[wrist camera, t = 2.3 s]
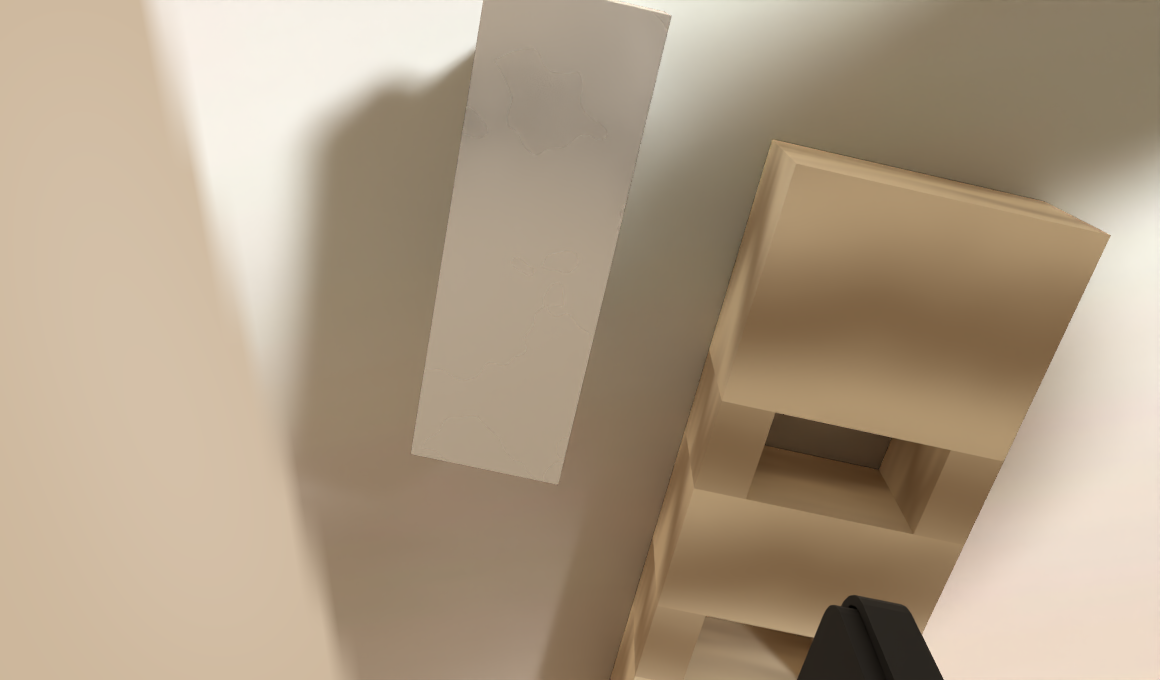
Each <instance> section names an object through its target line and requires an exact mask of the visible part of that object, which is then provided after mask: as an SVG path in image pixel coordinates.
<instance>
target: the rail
mask: <svg viewBox="0 0 1160 680" xmlns="http://www.w3.org/2000/svg"><path fill="white" fill-rule="evenodd" d="M1110 236H1111V235H1109V234H1107V233H1105V232H1103V231H1101V230H1099V229H1097V228H1096V227H1094V226H1092V225H1090V224H1088V223H1086V222H1084V221H1082V220H1080V219H1078V218H1076V217H1074V216H1072V215H1070V214H1068V213H1066V212H1064V211H1062V210H1060V209H1058V208H1056V207H1054V206H1052V205H1050V204H1048V203H1047V202H1045V201H1040V200H1036V199H1031V198H1027V197H1023V196H1018V195H1014V194H1010V193H1005V192H1001V191H997V190H992V189H988V188H983V187H979V186H975V185H970V184H966V183H962V182H957V181H953V180H948V179H944V178H940V177H935V176H931V175H927V174H922V173H918V172H914V171H909V170H905V169H900V168H896V167H892V166H887V165H883V164H879V163H874V162H870V161H865V160H861V159H857V158H852V157H848V156H844V155H839V154H835V153H831V152H826V151H822V150H817V149H813V148H809V147H804V146H800V145H796V144H791V143H787V142H782V141H778V140H774V139H772V142H771V145H770V148H769V152H768V155H767V158H766V161H765V165H764V168H763V171H762V175H761V178H760V181H759V185H758V188H757V191H756V195H755V198H754V201H753V205H752V208H751V211H750V215H749V218H748V221H747V225H746V228H745V231H744V235H743V238H742V241H741V245H740V248H739V251H738V255H737V258H736V261H735V265H734V268H733V271H732V275H731V278H730V281H729V285H728V288H727V291H726V295H725V298H724V301H723V305H722V308H721V311H720V315H719V318H718V321H717V325H716V328H715V331H714V335H713V338H712V341H711V345H710V348H709V351H708V355H707V358H706V361H705V365H704V368H703V371H702V375H701V378H700V381H699V385H698V388H697V391H696V395H695V398H694V401H693V405H692V408H691V411H690V415H689V418H688V421H687V425H686V428H685V431H684V435H683V438H682V441H681V445H680V448H679V451H678V455H677V458H676V461H675V464H674V468H673V471H672V474H671V478H670V481H669V484H668V488H667V491H666V494H665V498H664V501H663V504H662V508H661V511H660V514H659V518H658V521H657V524H656V528H655V531H654V534H653V538H652V541H651V544H650V548H649V551H648V554H647V558H646V561H645V564H644V568H643V571H642V574H641V578H640V581H639V584H638V588H637V591H636V594H635V598H634V601H633V604H632V608H631V611H630V614H629V618H628V621H627V624H626V628H625V631H624V634H623V638H622V641H621V644H620V648H619V651H618V654H617V658H616V661H615V664H614V668H613V671H612V674H611V678H610V680H797V678H798V676H799V673H800V671H801V668H802V666H803V663H804V661H805V658H806V656H807V654H808V651H809V649H810V646H811V644H812V641H813V639H814V636H815V634H816V631H817V629H818V626H819V624H820V622H821V619H822V617H823V614H824V612H825V611H826V609H827V608H828V607H829V606H830V605H837V606H841V605H842V603H843V601H844V600H845V599H846V598H847V597H848V596H851V595H858V596H863V597H868V598H873V599H878V600H883V601H888V602H893V603H898V604H902V605H904V606H906V607H907V608H908V610H909V611H910V612H911V614H912V616H913V618H914V620H915V622H916V624H917V626H918V628H919V630H920V632H921V634H922V633H923V631H924V629H925V627H926V624H927V622H928V620H929V618H930V616H931V614H932V612H933V610H934V608H935V605H936V603H937V601H938V599H939V597H940V595H941V593H942V591H943V589H944V586H945V584H946V582H947V580H948V578H949V576H950V574H951V572H952V570H953V567H954V565H955V563H956V561H957V559H958V557H959V555H960V553H961V551H962V548H963V546H964V544H965V542H966V540H967V538H968V536H969V534H970V531H971V529H972V527H973V525H974V523H975V521H976V519H977V517H978V515H979V512H980V510H981V508H982V506H983V504H984V502H985V500H986V498H987V496H988V493H989V491H990V489H991V487H992V485H993V483H994V481H995V479H996V477H997V474H998V472H999V470H1000V468H1001V466H1002V464H1003V462H1004V460H1005V458H1006V455H1007V453H1008V451H1009V449H1010V447H1011V445H1012V443H1013V441H1014V439H1015V436H1016V434H1017V432H1018V430H1019V428H1020V426H1021V424H1022V422H1023V420H1024V417H1025V415H1026V413H1027V411H1028V409H1029V407H1030V405H1031V403H1032V401H1033V398H1034V396H1035V394H1036V392H1037V390H1038V388H1039V386H1040V384H1041V381H1042V379H1043V377H1044V375H1045V373H1046V371H1047V369H1048V367H1049V365H1050V362H1051V360H1052V358H1053V356H1054V354H1055V352H1056V350H1057V348H1058V346H1059V343H1060V341H1061V339H1062V337H1063V335H1064V333H1065V331H1066V329H1067V327H1068V324H1069V322H1070V320H1071V318H1072V316H1073V314H1074V312H1075V310H1076V308H1077V305H1078V303H1079V301H1080V299H1081V297H1082V295H1083V293H1084V291H1085V289H1086V286H1087V284H1088V282H1089V280H1090V278H1091V276H1092V274H1093V272H1094V270H1095V267H1096V265H1097V263H1098V261H1099V259H1100V257H1101V255H1102V253H1103V251H1104V248H1105V246H1106V244H1107V242H1108V240H1109V238H1110ZM775 413H780V414H785V415H789V416H794V417H799V418H803V419H808V420H813V421H817V422H822V423H827V424H831V425H836V426H841V427H845V428H850V429H855V430H859V431H864V432H869V433H873V434H878V435H883V436H887V437H892V439H891V442H890V444H889V447H888V449H887V452H886V454H885V457H884V459H883V461H882V464H881V466H880V469H879V470H878V469H873V468H868V467H864V466H859V465H854V464H849V463H845V462H840V461H835V460H831V459H826V458H821V457H817V456H812V455H807V454H803V453H798V452H793V451H788V450H784V449H779V448H774V447H770V446H765V442H766V439H767V436H768V433H769V430H770V427H771V424H772V421H773V419H774V416H775ZM707 616H710V617H707ZM712 617H715V618H712ZM717 618H720V619H717ZM722 619H724V620H722ZM727 620H729V621H727ZM732 621H734V622H732ZM737 622H739V623H737ZM742 623H744V624H742ZM747 624H749V625H747ZM752 625H754V626H752ZM756 626H759V627H756ZM761 627H764V628H761ZM766 628H769V629H766ZM771 629H774V630H771ZM776 630H778V631H776ZM781 631H783V632H781ZM786 632H788V633H786ZM791 633H793V634H791ZM796 634H798V635H796ZM801 635H803V636H801ZM806 636H808V637H806Z"/></svg>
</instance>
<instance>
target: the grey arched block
mask: <svg viewBox="0 0 1160 680" xmlns="http://www.w3.org/2000/svg"><path fill="white" fill-rule="evenodd" d="M670 20H671V15H669V14H668V13H666V12H664V11H660V10H655V9H651V8H647V7H643V6H638V5H634V4H630V3H626V2H621V1H617V0H483V6H482V12H481V18H480V24H479V31H478V37H477V43H476V49H475V56H474V62H473V68H472V74H471V81H470V87H469V93H468V99H467V106H466V112H465V118H464V124H463V131H462V137H461V143H460V149H459V156H458V162H457V168H456V174H455V181H454V187H453V193H452V199H451V206H450V212H449V218H448V224H447V231H446V237H445V243H444V249H443V255H442V262H441V268H440V274H439V280H438V287H437V293H436V299H435V305H434V312H433V318H432V324H431V330H430V337H429V343H428V349H427V355H426V362H425V368H424V374H423V380H422V387H421V393H420V399H419V405H418V412H417V418H416V424H415V430H414V437H413V443H412V449H411V454H413V455H417V456H422V457H427V458H432V459H437V460H441V461H446V462H451V463H456V464H461V465H465V466H470V467H475V468H480V469H484V470H489V471H494V472H499V473H504V474H508V475H513V476H518V477H523V478H528V479H532V480H537V481H542V482H547V483H551V484H556V485H558V484H559V480H560V475H561V471H562V467H563V463H564V459H565V455H566V451H567V446H568V442H569V438H570V434H571V430H572V426H573V422H574V417H575V413H576V409H577V405H578V401H579V397H580V393H581V389H582V384H583V380H584V376H585V372H586V368H587V364H588V360H589V355H590V351H591V347H592V343H593V339H594V335H595V331H596V326H597V322H598V318H599V314H600V310H601V306H602V302H603V297H604V293H605V289H606V285H607V281H608V277H609V273H610V268H611V264H612V260H613V256H614V252H615V248H616V244H617V239H618V235H619V231H620V227H621V223H622V219H623V215H624V210H625V206H626V202H627V198H628V194H629V190H630V186H631V182H632V177H633V173H634V169H635V165H636V161H637V157H638V153H639V148H640V144H641V140H642V136H643V132H644V128H645V124H646V119H647V115H648V111H649V107H650V103H651V99H652V95H653V90H654V86H655V82H656V78H657V74H658V70H659V66H660V61H661V57H662V53H663V49H664V45H665V41H666V37H667V32H668V28H669V24H670Z"/></svg>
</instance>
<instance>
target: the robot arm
mask: <svg viewBox="0 0 1160 680" xmlns="http://www.w3.org/2000/svg"><path fill="white" fill-rule="evenodd" d="M797 680H944V679H943V677H942V675H941V673H940V671H939V669H938V667H937V665H936V663H935V661H934V659H933V657H932V655H931V653H930V651H929V649H928V647H927V645H926V642H925V640H924V638H923V636H922V634H921V632H920V630H919V628H918V626H917V624H916V622H915V620H914V618H913V616H912V614H911V612H910V611H909V610H908V608H907V607H906V606H904V605H902V604H898V603H893V602H888V601H883V600H878V599H873V598H868V597H863V596H858V595H851V596H848V597H847V598H846V599H845V600H844V601H843V603H842V605H841V606H837V605H830V606H829V607H828V608H827V609H826V611H825V612H824V614H823V617H822V619H821V622H820V624H819V626H818V629H817V631H816V634H815V636H814V639H813V641H812V644H811V646H810V649H809V651H808V654H807V656H806V658H805V661H804V663H803V666H802V668H801V671H800V673H799V676H798V678H797Z"/></svg>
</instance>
